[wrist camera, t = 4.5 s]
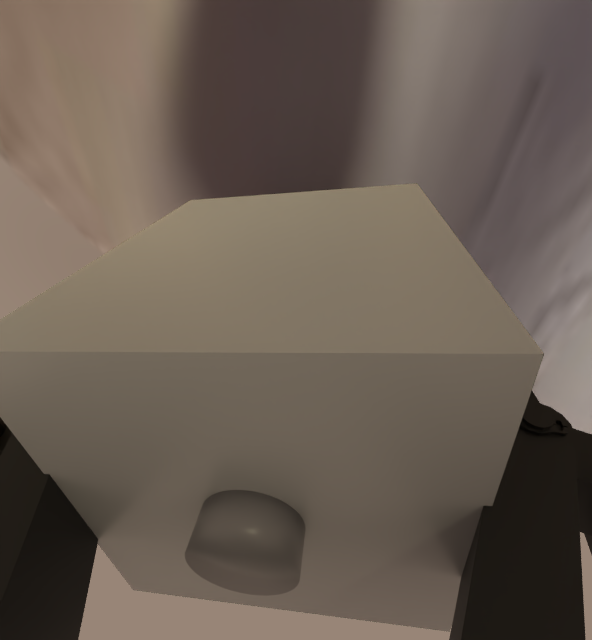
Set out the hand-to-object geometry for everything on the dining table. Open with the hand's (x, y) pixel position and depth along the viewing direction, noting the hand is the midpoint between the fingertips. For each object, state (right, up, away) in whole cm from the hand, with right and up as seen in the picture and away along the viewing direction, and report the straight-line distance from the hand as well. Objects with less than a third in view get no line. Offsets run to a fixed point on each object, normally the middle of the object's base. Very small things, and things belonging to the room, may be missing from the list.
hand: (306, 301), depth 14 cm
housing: (0, 0, 0) cm, 0 cm away
